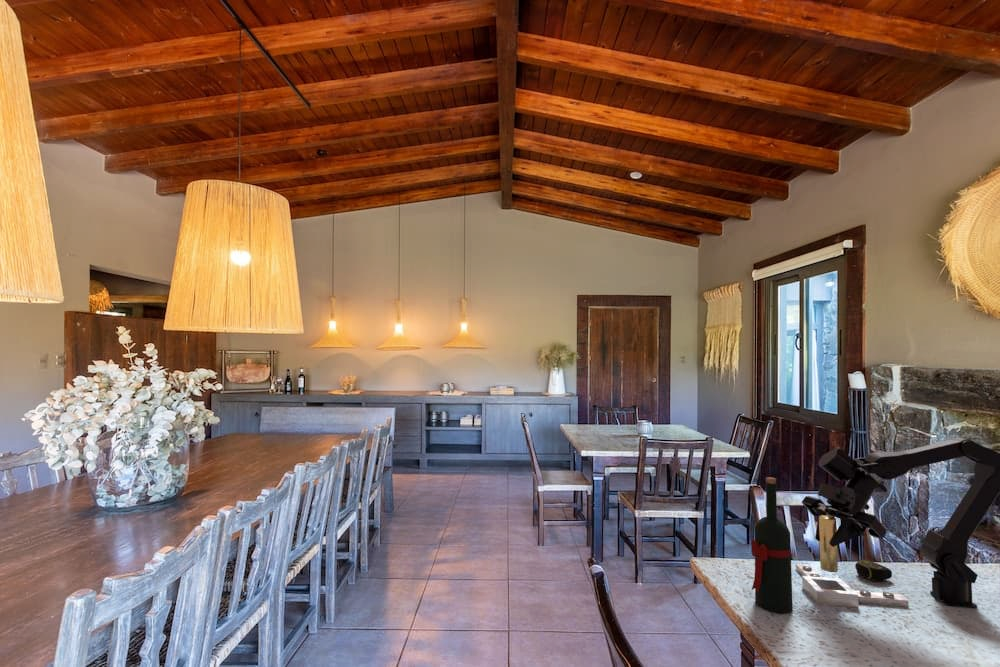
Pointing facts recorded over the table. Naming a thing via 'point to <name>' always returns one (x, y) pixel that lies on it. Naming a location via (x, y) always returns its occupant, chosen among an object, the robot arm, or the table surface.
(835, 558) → the gold metal cylinder
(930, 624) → the table surface
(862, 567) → the tape measure
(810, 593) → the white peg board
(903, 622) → the table surface
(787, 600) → the wine bottle
